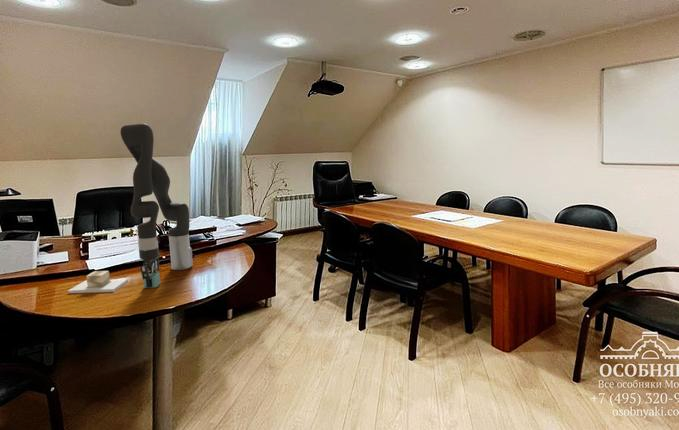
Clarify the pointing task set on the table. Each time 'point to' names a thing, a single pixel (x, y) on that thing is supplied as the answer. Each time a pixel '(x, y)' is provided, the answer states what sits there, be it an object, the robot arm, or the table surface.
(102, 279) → the birch block
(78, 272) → the table surface
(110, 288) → the board
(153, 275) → the teal cube
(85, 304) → the table surface
